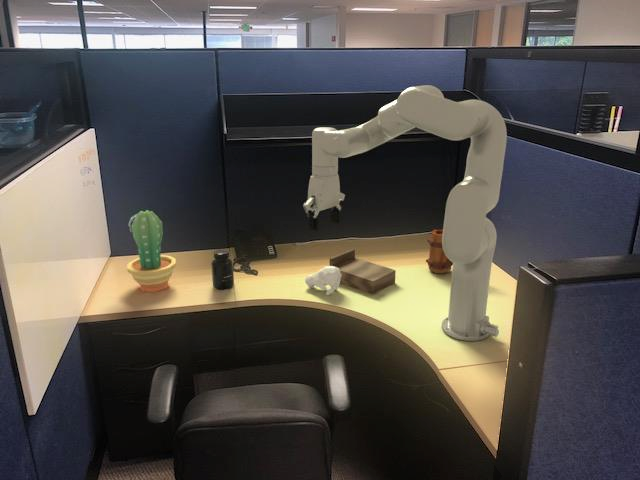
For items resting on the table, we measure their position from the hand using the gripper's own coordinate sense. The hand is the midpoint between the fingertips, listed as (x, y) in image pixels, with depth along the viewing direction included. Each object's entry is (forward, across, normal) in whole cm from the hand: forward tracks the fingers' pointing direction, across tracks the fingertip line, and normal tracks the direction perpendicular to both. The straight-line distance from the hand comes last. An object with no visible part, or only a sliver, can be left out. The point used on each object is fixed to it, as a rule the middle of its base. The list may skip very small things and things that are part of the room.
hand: (324, 225), depth 157 cm
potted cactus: (+22, +35, -43) cm, 60 cm away
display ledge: (+21, -13, +5) cm, 25 cm away
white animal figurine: (+22, +1, 0) cm, 22 cm away
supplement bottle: (+22, +20, -26) cm, 39 cm away
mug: (+21, -38, +22) cm, 49 cm away
